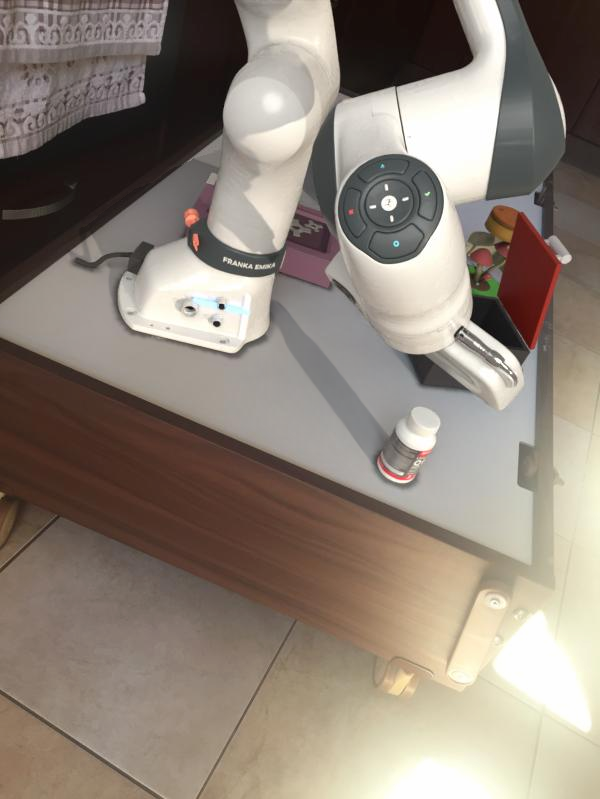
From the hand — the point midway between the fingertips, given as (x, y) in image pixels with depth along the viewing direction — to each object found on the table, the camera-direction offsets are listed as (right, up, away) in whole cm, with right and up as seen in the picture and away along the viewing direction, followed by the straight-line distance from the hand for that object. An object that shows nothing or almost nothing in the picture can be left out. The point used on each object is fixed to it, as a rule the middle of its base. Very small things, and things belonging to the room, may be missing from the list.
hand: (434, 352), depth 75 cm
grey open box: (+10, +2, +44) cm, 45 cm away
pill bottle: (-1, -14, +21) cm, 26 cm away
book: (-20, +23, +53) cm, 61 cm away
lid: (+20, +13, +35) cm, 42 cm away
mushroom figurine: (+20, +17, +65) cm, 70 cm away
